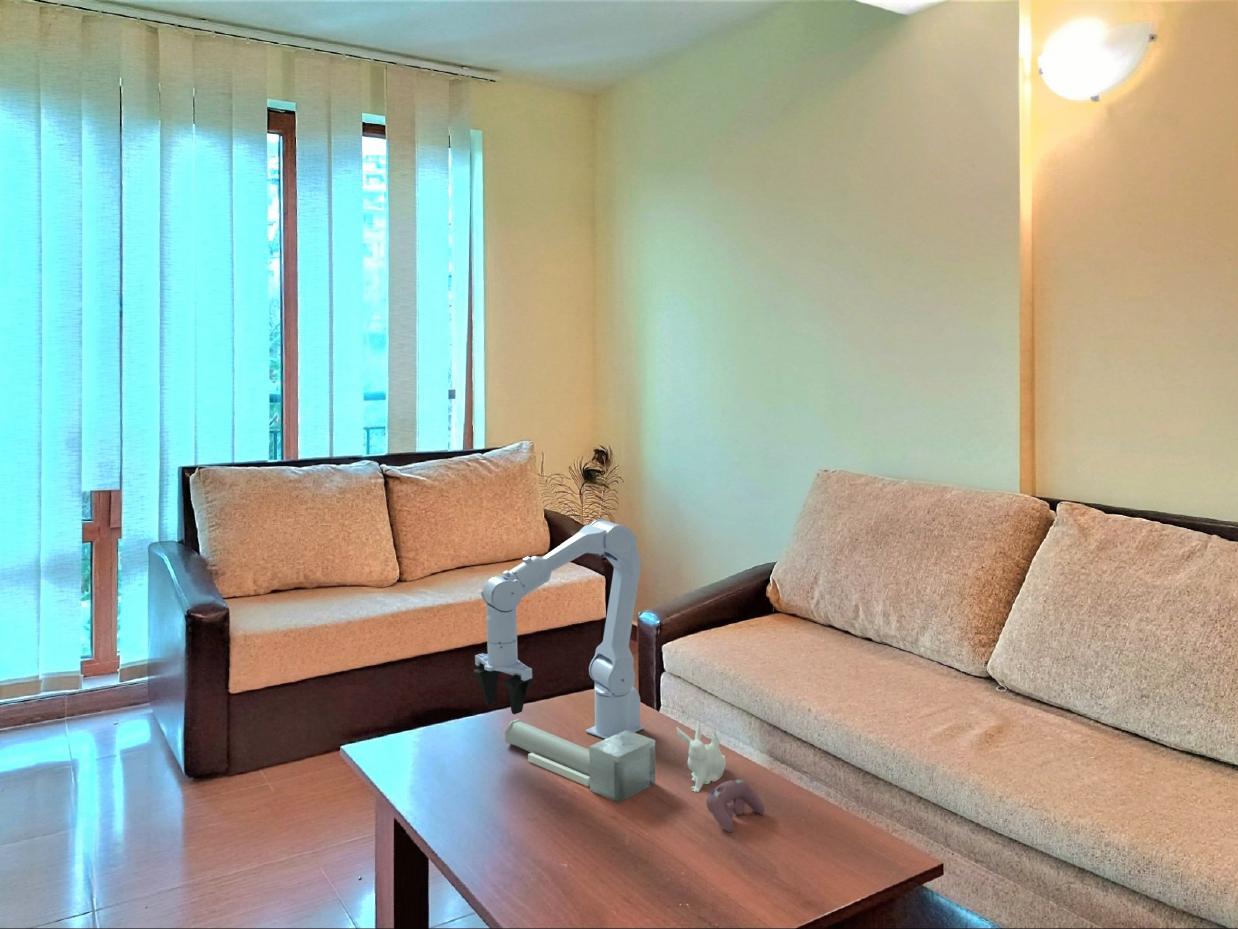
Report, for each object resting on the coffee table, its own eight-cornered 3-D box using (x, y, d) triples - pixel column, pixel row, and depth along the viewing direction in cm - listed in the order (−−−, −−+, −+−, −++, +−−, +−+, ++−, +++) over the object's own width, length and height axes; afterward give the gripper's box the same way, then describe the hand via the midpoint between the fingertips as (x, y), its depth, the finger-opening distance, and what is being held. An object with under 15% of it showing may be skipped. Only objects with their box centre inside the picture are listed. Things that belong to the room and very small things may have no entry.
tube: (615, 755, 166) (527, 719, 184) (596, 755, 163) (508, 718, 180) (609, 784, 166) (521, 745, 183) (589, 784, 162) (501, 745, 179)
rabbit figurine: (696, 794, 159) (696, 741, 158) (663, 782, 164) (663, 730, 163) (735, 772, 168) (735, 722, 167) (703, 761, 173) (703, 712, 172)
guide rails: (559, 748, 179) (558, 741, 179) (617, 771, 168) (617, 764, 168) (528, 761, 173) (527, 754, 173) (587, 786, 162) (587, 779, 162)
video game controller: (749, 815, 154) (734, 775, 156) (768, 812, 151) (753, 770, 153) (712, 836, 147) (697, 794, 149) (732, 833, 144) (717, 790, 146)
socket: (626, 772, 168) (626, 730, 167) (655, 783, 163) (655, 740, 162) (589, 790, 161) (589, 746, 160) (618, 802, 156) (618, 757, 155)
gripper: (462, 637, 175) (464, 704, 176) (511, 652, 165) (513, 723, 167) (490, 629, 180) (491, 695, 182) (539, 643, 171) (541, 712, 172)
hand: (504, 708), depth 175 cm, fingers open, 7 cm apart
